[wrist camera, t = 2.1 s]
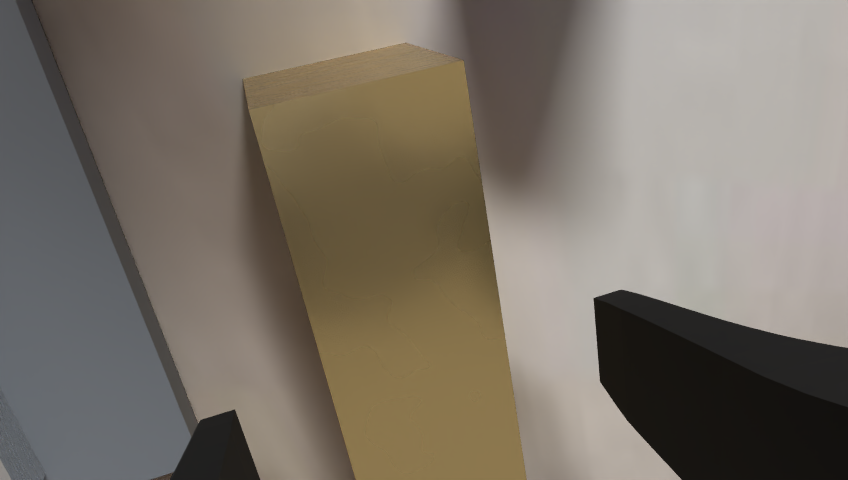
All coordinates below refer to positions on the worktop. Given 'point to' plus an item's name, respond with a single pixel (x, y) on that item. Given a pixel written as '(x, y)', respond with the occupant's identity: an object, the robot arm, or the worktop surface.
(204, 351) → the worktop surface
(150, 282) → the worktop surface
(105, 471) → the slate board
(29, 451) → the mounting blocks
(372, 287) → the link bar
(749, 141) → the worktop surface
